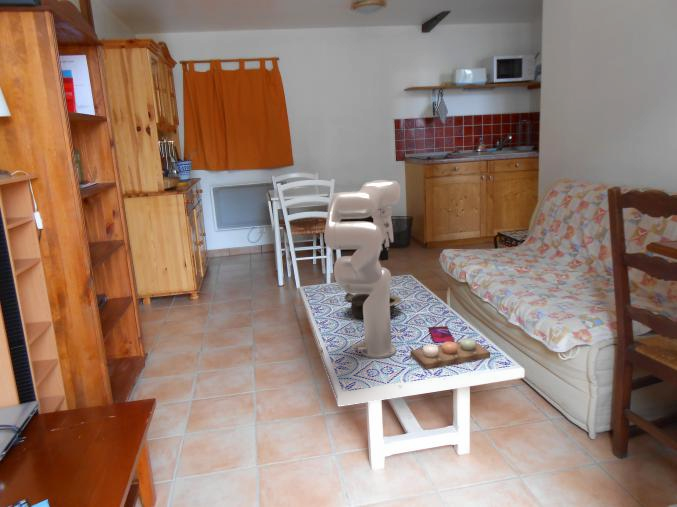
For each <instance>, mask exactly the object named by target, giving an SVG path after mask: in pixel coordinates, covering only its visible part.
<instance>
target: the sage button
mask: <svg viewBox="0 0 677 507" xmlns="http://www.w3.org/2000/svg"><path fill="white" fill-rule="evenodd" d="M459 342H461V349H463V350H474V349H475V342H476V340H475V339H474V338H470V337H469V338H468V337H465V338H462V339H460V341H459Z"/></svg>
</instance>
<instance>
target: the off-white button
mask: <svg viewBox="0 0 677 507" xmlns="http://www.w3.org/2000/svg"><path fill="white" fill-rule="evenodd" d="M438 346H439V345H436V344H426V345H424V346H423V347H422V348H423V354H424V356H426V357H436V356H438Z"/></svg>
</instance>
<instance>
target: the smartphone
mask: <svg viewBox="0 0 677 507" xmlns="http://www.w3.org/2000/svg"><path fill="white" fill-rule="evenodd" d="M428 329H429V330H428V332H429V335H430V334H431V335H430V336H431V339H432V342H433V343H434V344H441V343H444V342H448V341H450V342H455V339H454V337H453V335H452V332H451V331H450V329H449V327H448V326H446V325H444V326H429V327H428Z"/></svg>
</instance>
